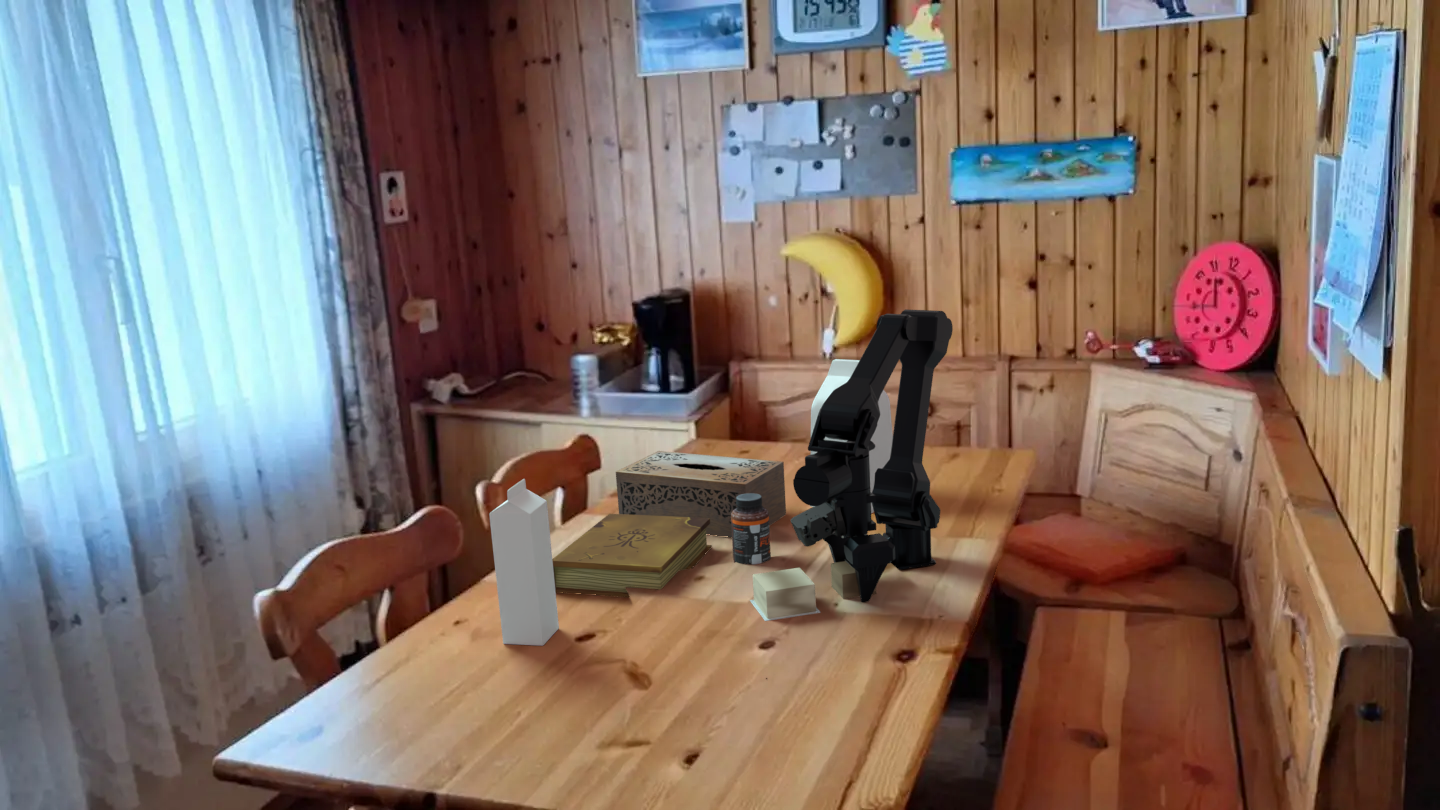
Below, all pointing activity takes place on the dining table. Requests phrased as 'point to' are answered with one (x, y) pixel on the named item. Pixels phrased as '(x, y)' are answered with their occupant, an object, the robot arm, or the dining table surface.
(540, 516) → the milk
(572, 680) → the dining table surface
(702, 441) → the dining table surface
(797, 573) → the maple block
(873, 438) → the milk
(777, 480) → the tissue box cover
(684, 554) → the diary
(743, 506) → the supplement bottle
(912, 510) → the robot arm
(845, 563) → the walnut cube
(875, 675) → the dining table surface
